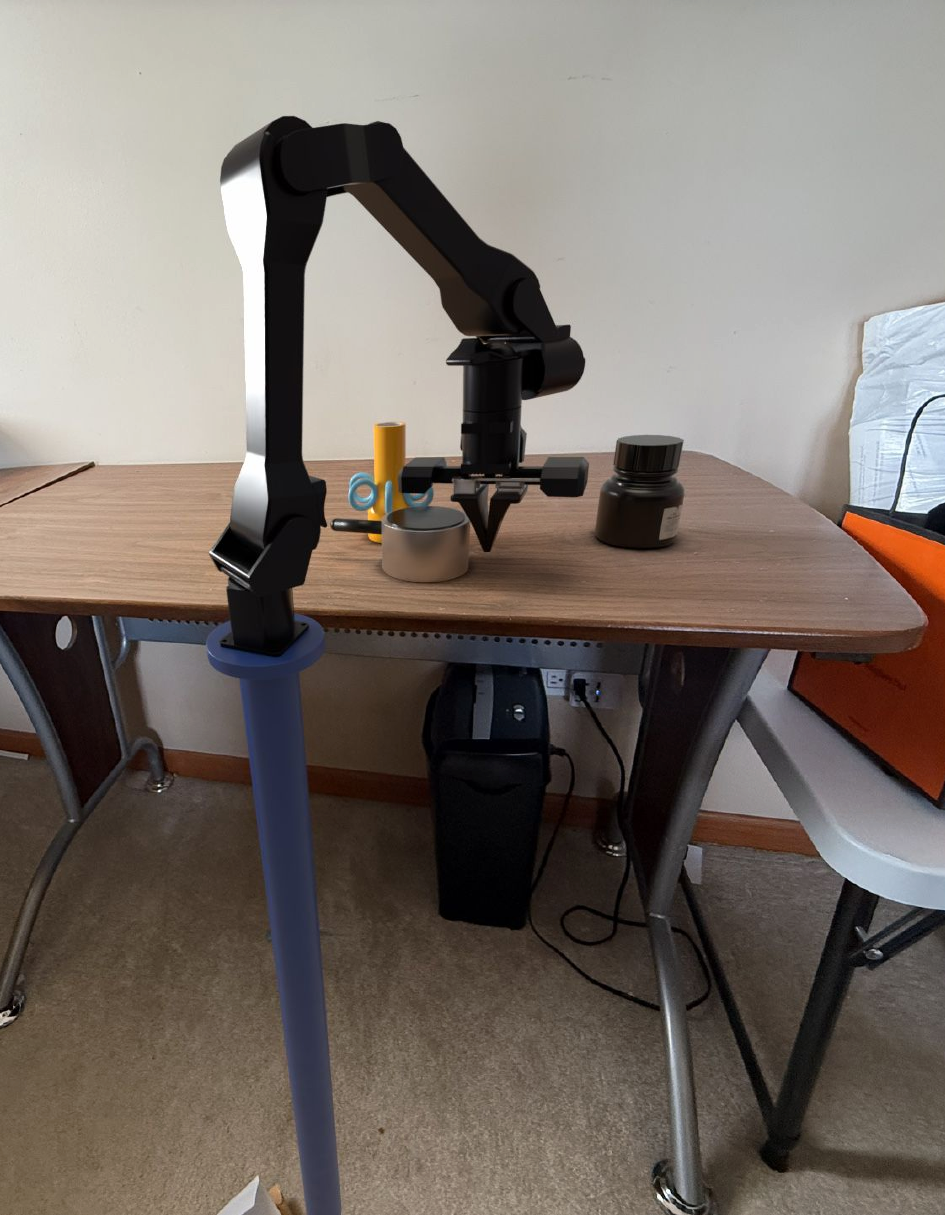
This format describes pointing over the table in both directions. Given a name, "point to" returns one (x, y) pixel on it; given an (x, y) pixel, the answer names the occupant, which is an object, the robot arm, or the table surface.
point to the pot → (418, 542)
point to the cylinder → (385, 476)
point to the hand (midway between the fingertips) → (487, 551)
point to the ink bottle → (642, 493)
